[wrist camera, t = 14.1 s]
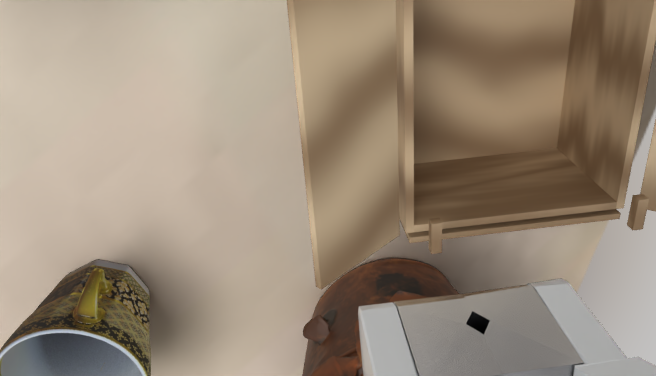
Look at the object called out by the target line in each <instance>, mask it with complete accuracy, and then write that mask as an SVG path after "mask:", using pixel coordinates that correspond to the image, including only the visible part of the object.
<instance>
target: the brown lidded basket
mask: <svg viewBox="0 0 656 376" xmlns="http://www.w3.org/2000/svg"><path fill="white" fill-rule="evenodd" d="M457 294H459V293H458V292H457V291H456V290H455V289H454V288H453V287H452V286H451V285H450V283H449V281H448V280H447V278H446V277H445V276H444V275H443V274H442V273H441V272H440V271H438V270H437V269H436V268H434V267H432V266H430V265H428V264H425V263H422V262H418V261H414V260H408V259H398V258H392V259H382V260H378V261H374V262H371V263H368V264H365V265H363V266H360V267H358V268H355V269H354V270H352V271H350V272H348V273H347V274H345V275H344V276H342V277H341V278H340V279H338V280H337V281H336V282H335V283H334V284H333V285H332V286H331V287H330V288H329V289H328V290H327V291H326V292H325V293H324V295H323V296H322V297H321V299H320V300H319V302H318V304H317V306H316V308H315V310H314V313H313V317H312V319H311V320H310V321H309V322H308V323H307V324H306V325H305V327H304V329H303V336H304V337H305V338H307V339H308V345H307V351H306V357H305V363H304V369H303V375H302V376H364V375H363V367H362V356H361V344H360V331H359V319H358V309H359V306H366V305H374V304H383V303H391V302H393V304H394V302H395V301H404V300H413V299H422V298H430V297H439V296H448V295H457Z"/></svg>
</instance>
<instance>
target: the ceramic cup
mask: <svg viewBox="0 0 656 376" xmlns="http://www.w3.org/2000/svg"><path fill="white" fill-rule="evenodd" d="M149 302H150V298H149V289H148V288H147V287H146V285H145V284H144V283H143V282H142V281H141V279H140V278H139V277H138V276H137V275H136V273H135V272H134V271H133V270H132V269H131V268H130V267H129V266H128V265H124V264H119V263H114V262H109V261H104V260H99V259H98V260H95V261H93V262H91V263H89V264H87V265H85V266H83V267H81V268H79V269H77V270H75V271H73V272H71V273H69V274H67V275H66V276H65V277H64V278H63V279H62V281H60V282H59V284H58V285H57V286H56V287H55V288H54V290H53V291H52V292H51V293H50V294H49V295H48V296H47V297H46V298H45V300H44V301H43V302H42V303H41V304H40V305H39V306H38V308H37V309H36V310H35V311H34V312H33V313H32V314H31V315H30V316H29V317H28V318H27V319H26V320H25V321H24V322H23V323H22V324H21V325H20V326H19V327H18V329H17V330H16V331H15V332H14V333H13V334H12V335H11V337H10V338H9V339H8V340H7V341H6V343H5V344H4V345H3V347H2V348H1V350H0V376H151V349H150V339H149Z"/></svg>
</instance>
